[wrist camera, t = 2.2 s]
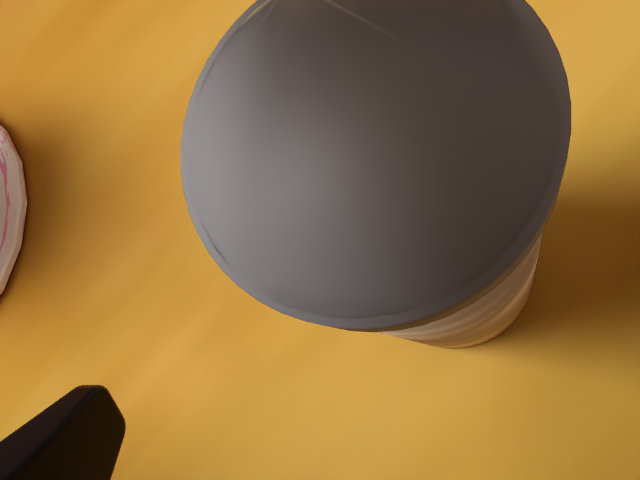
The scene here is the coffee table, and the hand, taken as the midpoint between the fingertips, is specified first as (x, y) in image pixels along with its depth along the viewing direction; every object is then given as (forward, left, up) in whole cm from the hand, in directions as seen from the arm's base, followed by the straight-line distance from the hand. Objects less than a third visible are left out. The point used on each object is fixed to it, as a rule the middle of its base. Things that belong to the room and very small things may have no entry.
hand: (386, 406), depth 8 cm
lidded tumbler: (+2, +3, -11) cm, 11 cm away
